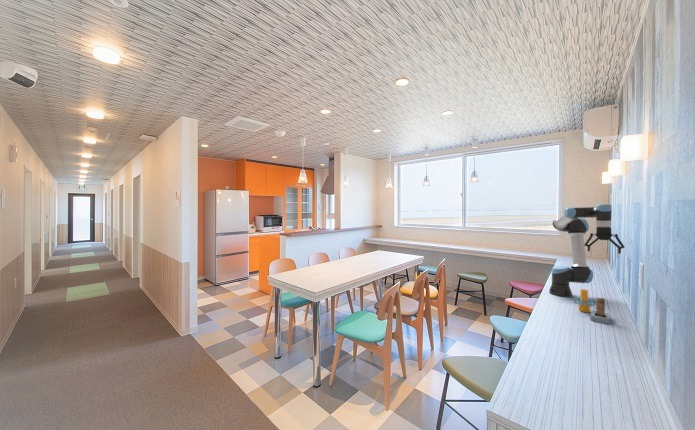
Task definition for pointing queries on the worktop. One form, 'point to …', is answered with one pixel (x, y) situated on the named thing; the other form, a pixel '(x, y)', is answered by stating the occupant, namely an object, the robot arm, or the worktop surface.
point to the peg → (600, 307)
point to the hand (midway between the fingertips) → (603, 257)
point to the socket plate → (600, 318)
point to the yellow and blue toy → (584, 301)
